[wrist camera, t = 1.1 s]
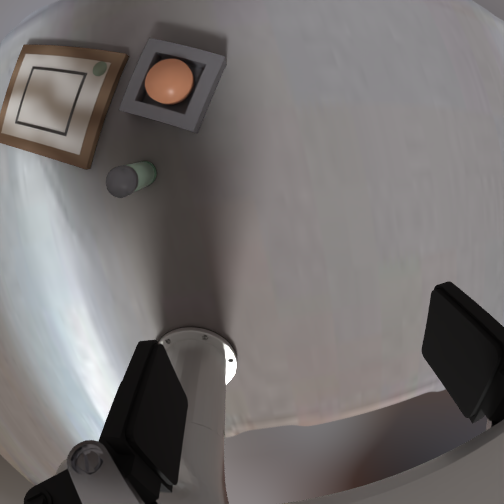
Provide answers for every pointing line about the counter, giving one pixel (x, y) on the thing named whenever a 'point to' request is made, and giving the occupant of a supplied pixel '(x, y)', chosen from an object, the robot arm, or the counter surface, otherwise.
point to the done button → (169, 81)
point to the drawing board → (60, 101)
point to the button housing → (195, 105)
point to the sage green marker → (130, 178)
